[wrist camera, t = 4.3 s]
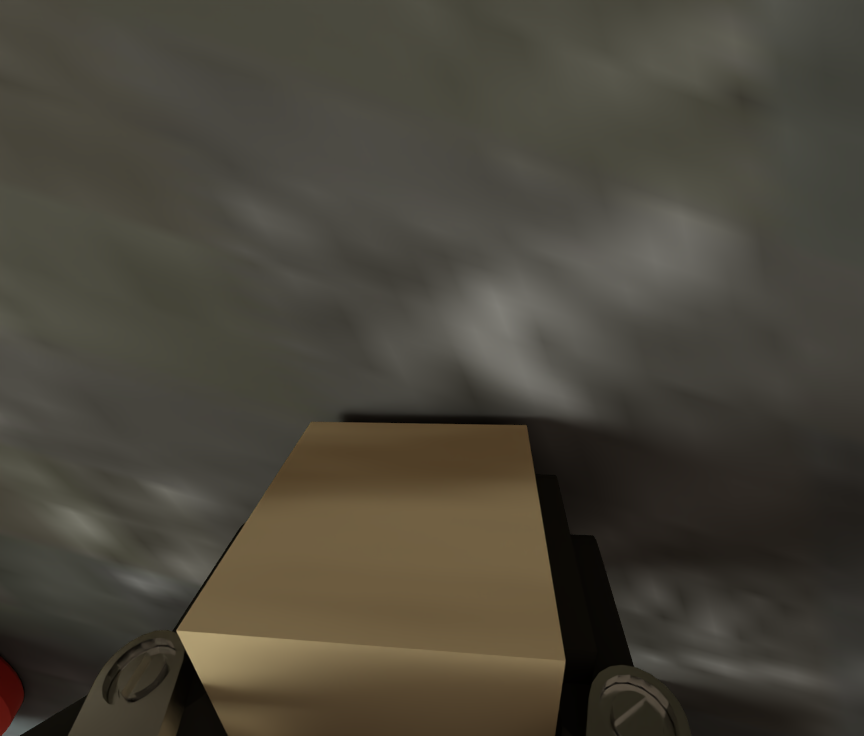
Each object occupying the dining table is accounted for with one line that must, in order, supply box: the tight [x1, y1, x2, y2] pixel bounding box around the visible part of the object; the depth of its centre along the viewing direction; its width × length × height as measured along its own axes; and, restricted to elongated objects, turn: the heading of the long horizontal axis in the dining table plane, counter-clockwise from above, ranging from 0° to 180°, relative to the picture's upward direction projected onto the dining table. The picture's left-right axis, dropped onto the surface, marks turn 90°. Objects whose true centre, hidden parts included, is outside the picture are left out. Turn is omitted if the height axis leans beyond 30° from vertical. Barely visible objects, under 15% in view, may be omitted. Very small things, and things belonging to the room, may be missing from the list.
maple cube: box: [176, 422, 566, 736], centre depth 9 cm, size 5×5×5 cm
